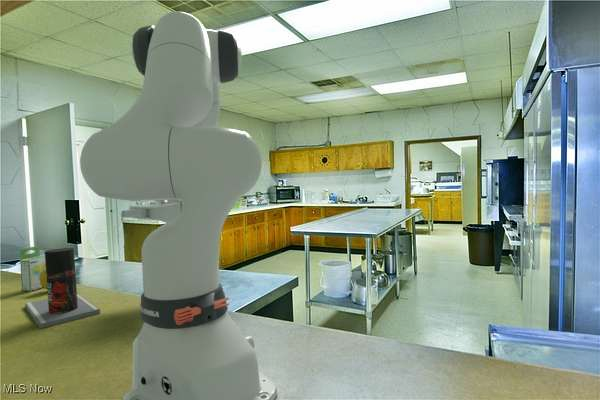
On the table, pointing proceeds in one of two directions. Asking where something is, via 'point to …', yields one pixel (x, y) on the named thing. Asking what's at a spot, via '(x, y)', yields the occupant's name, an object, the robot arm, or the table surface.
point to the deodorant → (61, 280)
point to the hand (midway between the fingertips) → (123, 214)
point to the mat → (45, 319)
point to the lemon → (43, 279)
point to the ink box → (31, 268)
